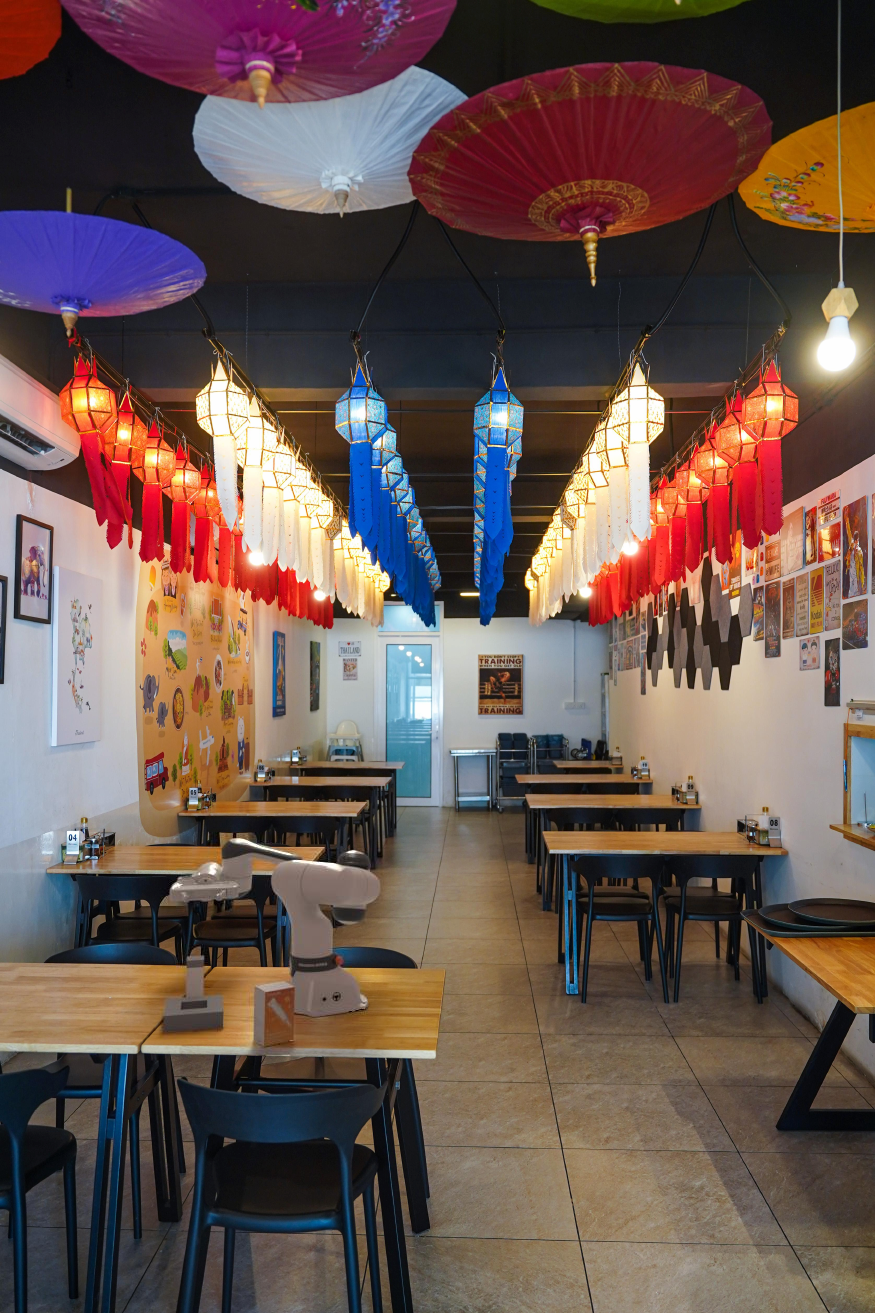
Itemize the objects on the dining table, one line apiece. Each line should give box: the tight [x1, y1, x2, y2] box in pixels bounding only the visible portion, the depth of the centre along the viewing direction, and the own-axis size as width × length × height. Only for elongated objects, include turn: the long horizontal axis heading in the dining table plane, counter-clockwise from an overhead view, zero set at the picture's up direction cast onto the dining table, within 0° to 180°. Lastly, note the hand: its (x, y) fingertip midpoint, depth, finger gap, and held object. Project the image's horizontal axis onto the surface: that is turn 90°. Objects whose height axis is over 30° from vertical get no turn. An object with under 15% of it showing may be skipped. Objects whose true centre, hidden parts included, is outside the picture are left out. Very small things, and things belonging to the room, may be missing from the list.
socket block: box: [162, 994, 225, 1033], centre depth 231 cm, size 15×15×4 cm
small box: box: [252, 980, 295, 1048], centre depth 216 cm, size 8×6×13 cm
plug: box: [185, 955, 205, 997], centre depth 246 cm, size 5×5×12 cm
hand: (202, 898), depth 262 cm, fingers open, 8 cm apart
